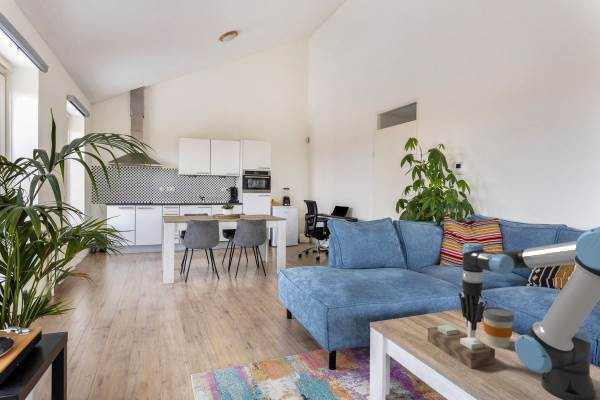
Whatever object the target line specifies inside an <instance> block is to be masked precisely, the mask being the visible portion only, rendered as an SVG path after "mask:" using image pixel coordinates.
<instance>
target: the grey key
mask: <svg viewBox="0 0 600 400" xmlns="http://www.w3.org/2000/svg"><path fill="white" fill-rule="evenodd" d="M460 343H461V344H462V345H464V346H466V347H467V348H469V349H471V350H473V349H478V348H483V343H484V342H483V341H481V340H479V339H476V337H472V338H470V337H467V338H460Z"/></svg>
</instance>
